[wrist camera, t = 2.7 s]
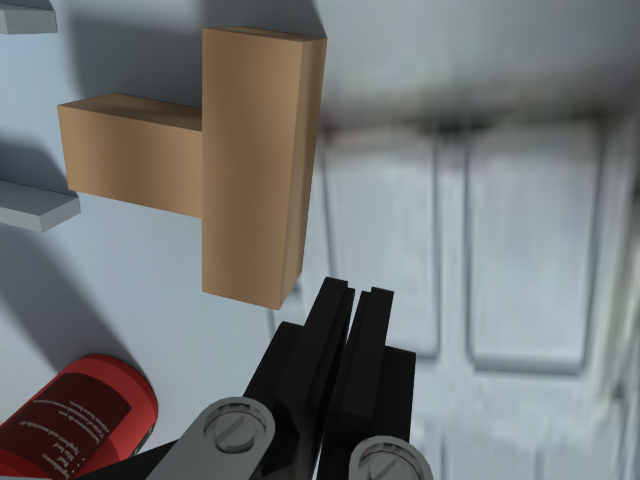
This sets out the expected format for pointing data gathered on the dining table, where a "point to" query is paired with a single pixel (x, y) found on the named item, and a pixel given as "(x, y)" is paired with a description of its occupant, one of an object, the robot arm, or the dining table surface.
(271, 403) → the robot arm
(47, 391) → the canned food
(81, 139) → the t block
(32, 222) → the bracket
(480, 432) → the dining table surface
